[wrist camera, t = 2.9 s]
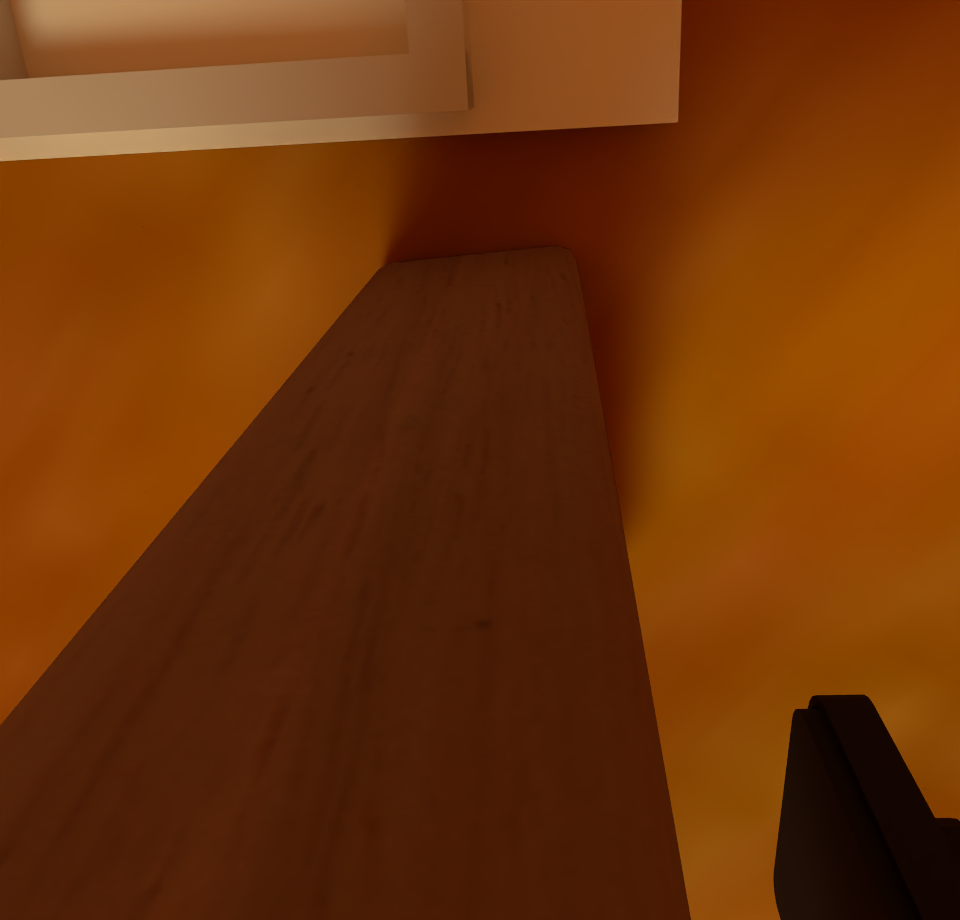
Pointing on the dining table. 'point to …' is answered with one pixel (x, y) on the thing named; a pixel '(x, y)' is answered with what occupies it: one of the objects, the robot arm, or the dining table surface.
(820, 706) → the robot arm
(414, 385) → the wooden block
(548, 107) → the dock tray
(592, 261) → the dining table surface
